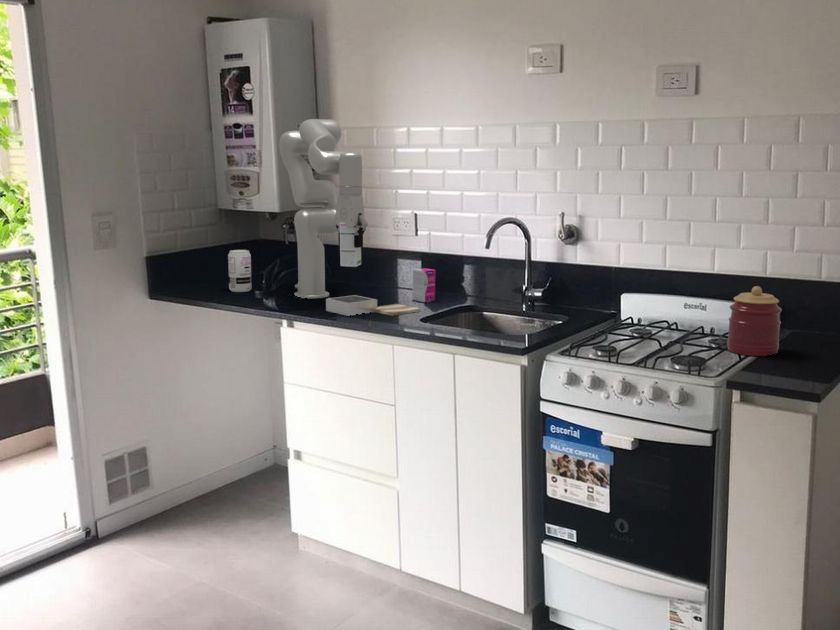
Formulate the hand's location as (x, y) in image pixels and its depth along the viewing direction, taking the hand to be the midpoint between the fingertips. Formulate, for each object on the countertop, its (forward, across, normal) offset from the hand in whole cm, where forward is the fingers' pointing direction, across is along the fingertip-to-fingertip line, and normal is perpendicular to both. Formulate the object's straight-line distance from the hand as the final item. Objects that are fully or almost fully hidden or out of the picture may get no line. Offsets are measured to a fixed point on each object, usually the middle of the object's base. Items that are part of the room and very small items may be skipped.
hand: (350, 245), depth 289 cm
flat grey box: (+22, -3, 0) cm, 22 cm away
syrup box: (+7, 0, 0) cm, 7 cm away
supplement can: (+23, -60, -6) cm, 65 cm away
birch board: (+22, +10, +11) cm, 26 cm away
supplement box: (+22, +2, +31) cm, 38 cm away
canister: (+20, +117, +46) cm, 127 cm away
